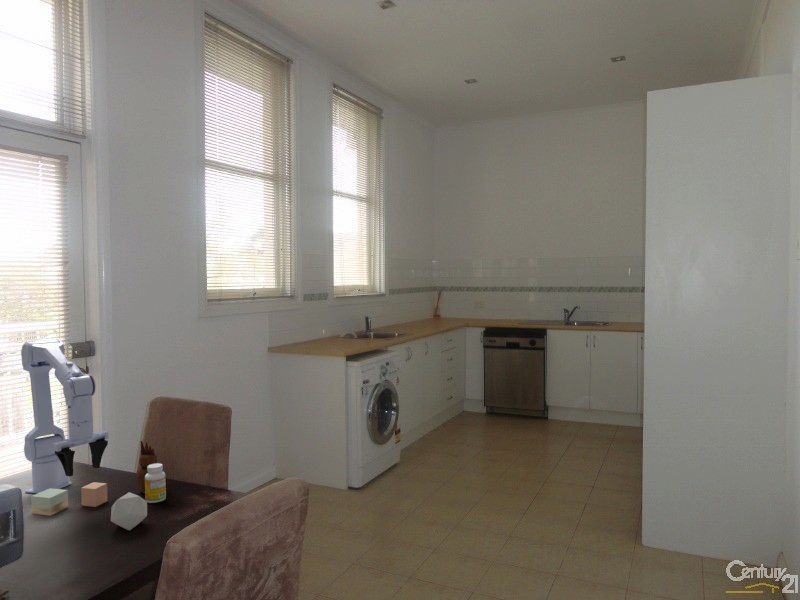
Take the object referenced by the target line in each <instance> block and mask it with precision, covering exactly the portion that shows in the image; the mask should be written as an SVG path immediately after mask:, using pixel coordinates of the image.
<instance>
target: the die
mask: <svg viewBox="0 0 800 600" xmlns="http://www.w3.org/2000/svg"><path fill="white" fill-rule="evenodd" d="M110 509H111V511H110V512H111V513H110V522H112V523H113V524H115V525H117V526H119V527H121V528H123V529H124V530H127V531H129V532H130V531H131V530H132V529H134V528H135V527H136V526H137V525H139V524H140V523H141V522H143V521H144V520H145V518H146V517H147V516H148V502H147V501H146V500H145V498H142V497H141V496H140V495H137V494H135V493H132V492H129V491H128V492H127V493H126V494H124V495H122V496H121V497H119V498H117V499H116V500H115V502H114V503H113V504H112V505H111V508H110Z"/></svg>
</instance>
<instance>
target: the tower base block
mask: <svg viewBox="0 0 800 600" xmlns="http://www.w3.org/2000/svg"><path fill="white" fill-rule="evenodd" d="M68 508H69V498H68V499H67V500H65V501H63V502H61V503H59V504H56V505H54V506H52V507H42V506H33V505H31V514H33V515H43V516H49V517H50V516H53V515H55V514H56V513H59V512H61V511H63V510H64V509H68Z"/></svg>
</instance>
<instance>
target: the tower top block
mask: <svg viewBox="0 0 800 600" xmlns="http://www.w3.org/2000/svg"><path fill="white" fill-rule="evenodd" d="M67 499H68V500H69V489H63V488H60V489H52V488H49V489H47V490H45V491H42V492H40V493H34V494H33V495H31V496H30V502H31V506H32V505H33V506H42V507H52V506H54V505H56V504H59V503H61V502H63V501H65V500H67Z"/></svg>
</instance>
